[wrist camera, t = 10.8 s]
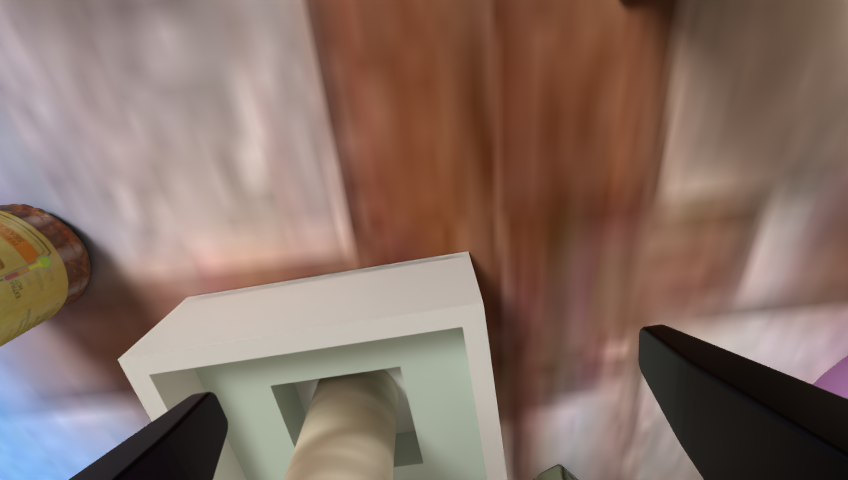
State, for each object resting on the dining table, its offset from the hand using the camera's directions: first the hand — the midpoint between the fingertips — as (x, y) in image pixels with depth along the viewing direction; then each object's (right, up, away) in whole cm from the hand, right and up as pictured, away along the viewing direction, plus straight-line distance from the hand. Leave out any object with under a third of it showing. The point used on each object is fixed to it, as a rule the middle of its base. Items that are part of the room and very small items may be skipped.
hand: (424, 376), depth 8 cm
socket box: (-4, -6, +16) cm, 18 cm away
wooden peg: (-4, -7, +16) cm, 18 cm away
